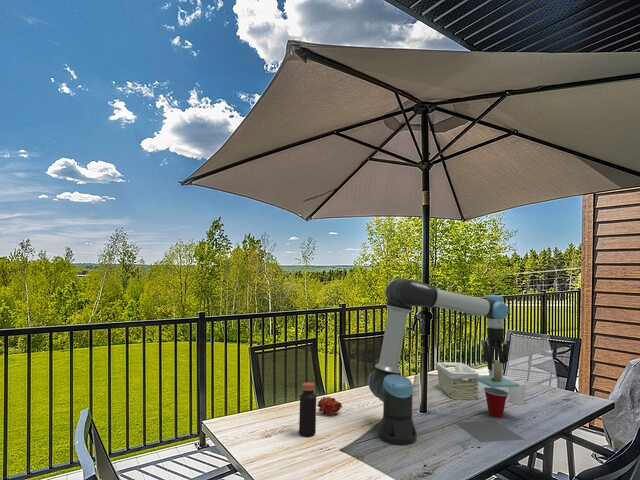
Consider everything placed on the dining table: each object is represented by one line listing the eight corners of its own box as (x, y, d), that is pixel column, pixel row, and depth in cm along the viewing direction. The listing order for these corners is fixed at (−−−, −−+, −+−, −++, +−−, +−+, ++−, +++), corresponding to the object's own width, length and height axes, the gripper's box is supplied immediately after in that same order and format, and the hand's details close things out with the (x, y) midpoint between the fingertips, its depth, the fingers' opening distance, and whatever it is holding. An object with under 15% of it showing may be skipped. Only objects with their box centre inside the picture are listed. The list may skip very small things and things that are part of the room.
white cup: (526, 401, 208) (525, 382, 209) (524, 405, 202) (524, 386, 202) (509, 398, 212) (509, 380, 213) (507, 402, 206) (507, 383, 207)
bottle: (306, 429, 166) (307, 380, 168) (318, 433, 162) (319, 383, 163) (295, 434, 161) (296, 383, 162) (308, 438, 156) (309, 387, 158)
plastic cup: (511, 421, 180) (511, 394, 181) (486, 419, 182) (486, 392, 183) (505, 413, 190) (505, 387, 191) (481, 411, 192) (481, 386, 193)
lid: (492, 387, 179) (491, 365, 180) (474, 379, 193) (474, 358, 194) (519, 386, 182) (518, 364, 182) (500, 378, 195) (499, 357, 196)
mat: (480, 443, 156) (480, 442, 156) (454, 423, 176) (454, 422, 176) (525, 440, 160) (525, 439, 160) (494, 421, 179) (494, 420, 179)
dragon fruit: (315, 416, 185) (340, 420, 185) (317, 410, 178) (343, 415, 178) (317, 398, 190) (341, 402, 190) (319, 392, 184) (344, 396, 184)
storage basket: (480, 401, 208) (480, 372, 210) (450, 400, 208) (450, 372, 209) (462, 387, 232) (462, 362, 233) (435, 387, 232) (435, 361, 233)
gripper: (483, 328, 184) (484, 379, 182) (516, 328, 187) (517, 378, 185) (474, 326, 191) (475, 375, 190) (506, 326, 194) (506, 374, 193)
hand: (496, 376), depth 187 cm, fingers closed on lid, 4 cm apart
